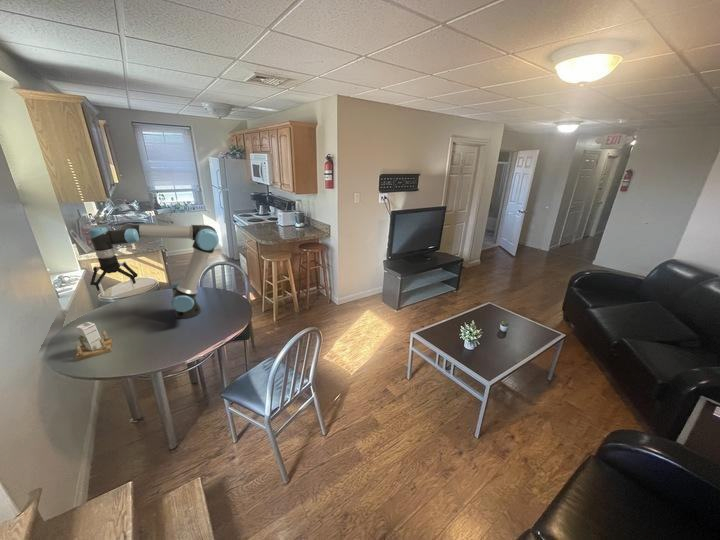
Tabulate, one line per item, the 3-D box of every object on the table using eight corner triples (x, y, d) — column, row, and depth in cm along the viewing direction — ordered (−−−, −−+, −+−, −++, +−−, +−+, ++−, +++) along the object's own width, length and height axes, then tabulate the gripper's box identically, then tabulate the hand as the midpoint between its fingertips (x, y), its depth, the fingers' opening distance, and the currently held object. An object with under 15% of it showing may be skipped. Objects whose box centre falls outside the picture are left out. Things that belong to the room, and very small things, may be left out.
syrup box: (104, 345, 158) (95, 323, 153) (92, 351, 153) (82, 328, 148) (97, 343, 160) (88, 321, 155) (85, 349, 155) (75, 326, 149)
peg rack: (80, 349, 158) (75, 337, 155) (112, 340, 166) (108, 328, 163) (76, 361, 149) (71, 348, 146) (111, 351, 157) (106, 339, 154)
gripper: (73, 263, 143) (88, 300, 151) (135, 254, 156) (146, 288, 164) (76, 258, 148) (90, 295, 156) (135, 250, 162) (146, 284, 170)
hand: (119, 292), depth 160 cm, fingers open, 13 cm apart
